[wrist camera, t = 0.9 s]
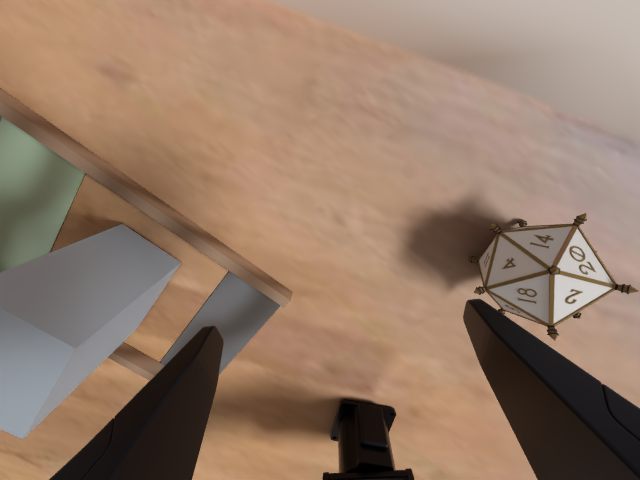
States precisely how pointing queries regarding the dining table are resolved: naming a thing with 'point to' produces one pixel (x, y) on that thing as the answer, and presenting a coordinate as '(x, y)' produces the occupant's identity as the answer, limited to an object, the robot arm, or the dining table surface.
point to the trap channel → (67, 174)
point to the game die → (544, 272)
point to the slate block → (71, 318)
